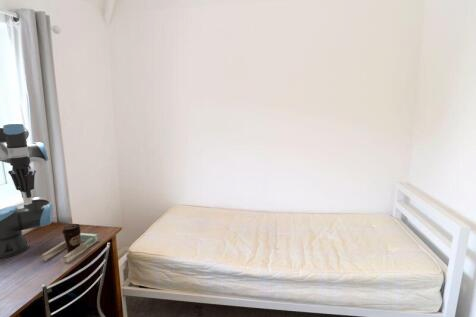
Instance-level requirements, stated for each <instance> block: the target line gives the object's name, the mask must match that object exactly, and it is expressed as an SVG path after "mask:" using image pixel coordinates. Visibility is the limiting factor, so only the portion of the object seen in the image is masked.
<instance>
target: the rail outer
mask: <svg viewBox="0 0 476 317" xmlns="http://www.w3.org/2000/svg"><path fill="white" fill-rule="evenodd" d="M95 243H96V242H95V237H91V238H90V239H89V240H87V241H86V242H83V243H80V246H78V247H77V248H76V249H74V250H73V251H71V252H68V253H67V254H66V255H63V262H64V263H70V262H71V261H73V260H74V259H76V257H78V256H79V255H81V254H82V253H84V251H86V250H87V249H89V248H90V247H92V246H93V245H94V244H95Z"/></svg>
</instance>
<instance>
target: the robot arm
mask: <svg viewBox="0 0 476 317" xmlns="http://www.w3.org/2000/svg"><path fill="white" fill-rule="evenodd" d="M29 134H30V132H29V130H28V128H27V127H25V125H24V124H23V122H9V123H8V122H7V123H4V124H2V126H0V162H2V163H5V164H10V166H11V167H12V169H11V170H8V175H10V177H11V180H12V182H13V184H14V188H15V189H16V190H17V191H20V194H21V198H22V200H23V207H21V208H18V207H17V206H16V205H14V206H13V205H12V206H7V207H3V208H1V209H0V259H5V258H9V257H13V256H17V255H19V254H21V253H23V252H25V251H27V250H28V248H29V247H30V245H29V241H28V240H27V238H26V236H25V235H24V233H23V231H25V230H29V229H30V230H31V229H34V228H40V227H41V228H42V227H45V226H49V225H51V224H52V222H53V218H54V206H53V203H50V201H49V200H48V199H47V198H46V187H45V173H44V166H45V165H46V163H47V162H48V161H49V156H48V153H47V150H46V146H45V144H44V143H43V142H35V143H36V144H29V143H28V142H27V139H28V138H29V136H30V135H29Z"/></svg>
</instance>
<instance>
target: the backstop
mask: <svg viewBox="0 0 476 317" xmlns="http://www.w3.org/2000/svg"><path fill="white" fill-rule="evenodd" d="M91 237H95V243H97V242H98V241H99V240H98V239H99V238H98V234H97V233H86V232H85V233H84V232H80V239H81V242H83V243H84V242H86V241H87V240H89V239H90V238H91Z"/></svg>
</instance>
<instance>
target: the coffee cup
mask: <svg viewBox="0 0 476 317" xmlns="http://www.w3.org/2000/svg"><path fill="white" fill-rule="evenodd" d="M61 233H62V234H63V238H64V241H65V243H66V245H67V247H66V249H67V251H68V253H70V252H71V251H73V250H74V249H76V248H77V247H78V246H80V245H81V242H82V241H81V239H80V233H81V227H80V224H79V223H72V224H68V225H65V227H63V229H62V231H61Z"/></svg>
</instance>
